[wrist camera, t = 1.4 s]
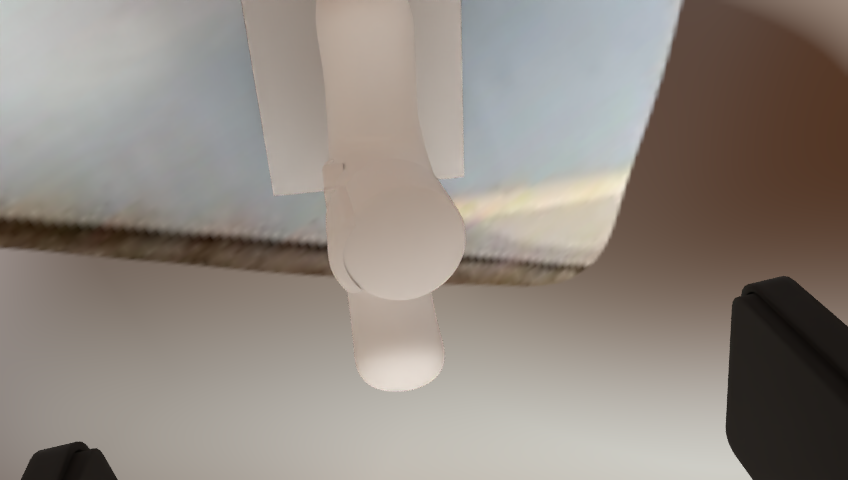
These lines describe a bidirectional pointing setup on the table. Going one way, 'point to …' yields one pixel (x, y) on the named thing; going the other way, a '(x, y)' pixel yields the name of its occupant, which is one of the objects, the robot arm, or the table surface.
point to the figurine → (371, 157)
